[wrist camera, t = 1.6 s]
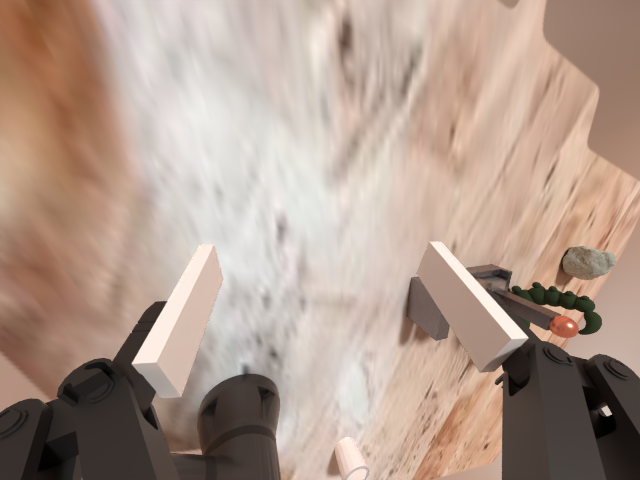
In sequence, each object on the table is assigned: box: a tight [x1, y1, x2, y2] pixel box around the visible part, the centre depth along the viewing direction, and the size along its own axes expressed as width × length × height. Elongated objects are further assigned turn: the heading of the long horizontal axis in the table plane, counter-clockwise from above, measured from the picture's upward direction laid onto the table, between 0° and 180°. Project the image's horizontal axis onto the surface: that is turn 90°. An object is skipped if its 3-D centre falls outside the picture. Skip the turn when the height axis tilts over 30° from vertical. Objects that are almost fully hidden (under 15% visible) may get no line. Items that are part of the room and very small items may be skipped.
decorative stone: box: [563, 246, 616, 280], centre depth 68 cm, size 13×11×10 cm
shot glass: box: [334, 437, 369, 480], centre depth 56 cm, size 7×7×7 cm
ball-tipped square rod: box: [474, 275, 579, 338], centre depth 50 cm, size 7×5×20 cm
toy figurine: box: [502, 282, 602, 372], centre depth 57 cm, size 9×19×25 cm
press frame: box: [406, 264, 512, 341], centre depth 53 cm, size 11×26×9 cm, turn 88°
